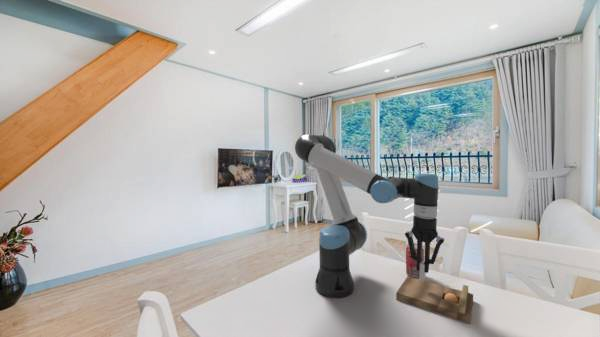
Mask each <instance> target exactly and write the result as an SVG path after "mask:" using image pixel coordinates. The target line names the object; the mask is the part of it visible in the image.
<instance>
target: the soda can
mask: <svg viewBox="0 0 600 337" xmlns="http://www.w3.org/2000/svg"><path fill="white" fill-rule="evenodd" d="M414 246H415V251H416V256H417V243H414ZM423 247H424V246H423V245H422V260H421V261H425V249H424V248H423ZM405 273H406V275H407V276H408V277H411V278H415V279H419V273H420V271H418V270H417V261H416V260H413V259H412V258H411V253H410V248H409V244H407V245H406V247H405Z"/></svg>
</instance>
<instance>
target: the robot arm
mask: <svg viewBox="0 0 600 337" xmlns="http://www.w3.org/2000/svg"><path fill="white" fill-rule="evenodd" d="M294 150H295V154H296V156H297V157H298V158H299V159H301V161H303V162H306V163H307V164H309V165H311V167H312V168H313V169H315V170H316V171H317V174H318V175H317V176H318V177H319V181H320V183H321V186H322V189H323V191H324V192H323V193H324V195H325V198H326V200H327V203H328V207H329V211H330V213H331V216H332V219H333V221H332V223H331V225H327V226H325V227H323V228H322V229H321V230H320V231H319V238H318V242H319V244H318V245H319V246H318V248H319V250H318V251H319V268H318V272H317V274H316V276H315V280H314V281H315V283H314V284H315V286H314V287H315V289H316V291H317V293H319V294H321V295H323V296H326V297H328V298H338V299H339V298H345V297H348V296H351V295H352V294H353V293H354V291H355V282H354V279H353V276H352V273H351V270H350V255H352V254H353V253H355V252H356V251H357V250H359V249H361V248H362V247H363V246H364V245H365V243H367V242H366V241H367V238H368V232H367V229H366V227H365V225H364V224H363V223H361V222H360V221H359V219H358V216H357V215H356V214H354V213H352V210H351V207H350V204H349V201H348V198H347V196H346V193H345V190H344V186H343V184H342V182H341V180H344V181H346V183H349V184H350V185H353V186H354V187H356V188H358V189H359V190H362V191H364V192H366V193H367V194H369V195H370V196H371V198H372V199H373V200H374V202H376V203H379V204H387V203H392V202H393V201H395V200H397V199H399V198H403V199H412V200H413V215H414V216H412V218H413V219H412V222H413V223H412V228H411V230H408V231H406V232H405V233H404V235H405V237H406V239H407V243H408V244H409V248H410V253H411V258H412V259H413V260H416V261H417V270H418V271H420V273H419V281H422V282H424V281H425V280H426V274H428V273H429V270H430V265H434V264H435V262H436V260H437V257H438V254H439V251H440V248H441V245H442V244H443V243H444V242H445V238H444V237H441V236H440V235H439V233H438V231H437V226H438V225H437V223H438V222H437V221H438V219H437V218H436V217H438V201H439V200H438V199H439V176H438V175H437V174H435V173H426V172H425V173H423V172H422V173H421V172H418V173H416V174H415V175H414V177H413V178H410V177H398V176H382V175H381V174H378V173H376V172H374V171H372V170H370V169H368V168H366V167H363V165H360V164H358V163H356V162H354V161H351V160H350V159H347V158H345V157H344V156H341V155H339V154H338V153H336V152H337V145H336V143H335V141H334V140H333V138H331V137H329V136H326V135H320V134H319V135H318V134H309V133H307V134H306V133H305V134H303V135H301V136H300V137H298V139H297V140H296V142H295V144H294ZM413 237H415V239H416V240H417V241H416V244H417V256H416V251H415V246H414V244H415V243H414V238H413ZM434 240H435V242H436V244H435V246H434V249H433V252H432V256H431V254H430V253H431V242H433V241H434ZM423 243H424V261H421V260H422V246H423ZM408 244H407V245H408ZM430 256H431V258H430Z"/></svg>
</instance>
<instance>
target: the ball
mask: <svg viewBox="0 0 600 337" xmlns="http://www.w3.org/2000/svg"><path fill="white" fill-rule="evenodd" d="M444 299H445V300H446V301H450V302H453V303H456V304H458V299H457V297H456V296H455V295H454V294H452V293H448V294H446V295H445V297H444ZM444 299H443V300H444Z"/></svg>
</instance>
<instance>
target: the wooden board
mask: <svg viewBox="0 0 600 337" xmlns="http://www.w3.org/2000/svg"><path fill="white" fill-rule="evenodd" d="M448 293H452V294H454V295H455V296H456V297H457V299H458V304H456V303H453V302H450V301H446V300H445V299H444V297H445V295H446V294H448ZM395 296H396V299H395V300H398V301H401V302H403V303H406V304H408V305H411V306H415V307H417V308H421V309H424V310H427V311H431V312H434V313H437V314H439V315H442V316H445V317H449V318H451V319H455V320H457V321H460V322H463V323H467V324H471V322H472V321H471V320H472V313H473V306H474V294H473V293H471V292H469V285H466V284H463V285H462V288H461V290H459V289H455V288H451V287H448V286H443V285H441V284H437V283H434V282H433V283H432V282H430V281H425V280H424V282H422V281H419V279H415V278H411V277H409V276H408V275H407V277H406V278H405V279H404V281H403V282H402V283H401V285H400V286H399V288H398V289H397V291H396V295H395Z"/></svg>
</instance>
